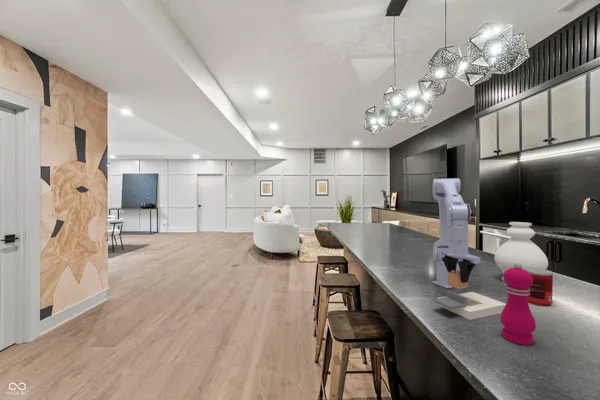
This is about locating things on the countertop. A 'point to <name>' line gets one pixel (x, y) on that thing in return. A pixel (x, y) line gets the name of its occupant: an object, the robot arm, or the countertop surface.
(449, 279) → the plug
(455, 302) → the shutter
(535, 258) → the decorative vase
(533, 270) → the canned food
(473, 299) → the socket board
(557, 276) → the countertop surface
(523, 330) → the pepper mill
